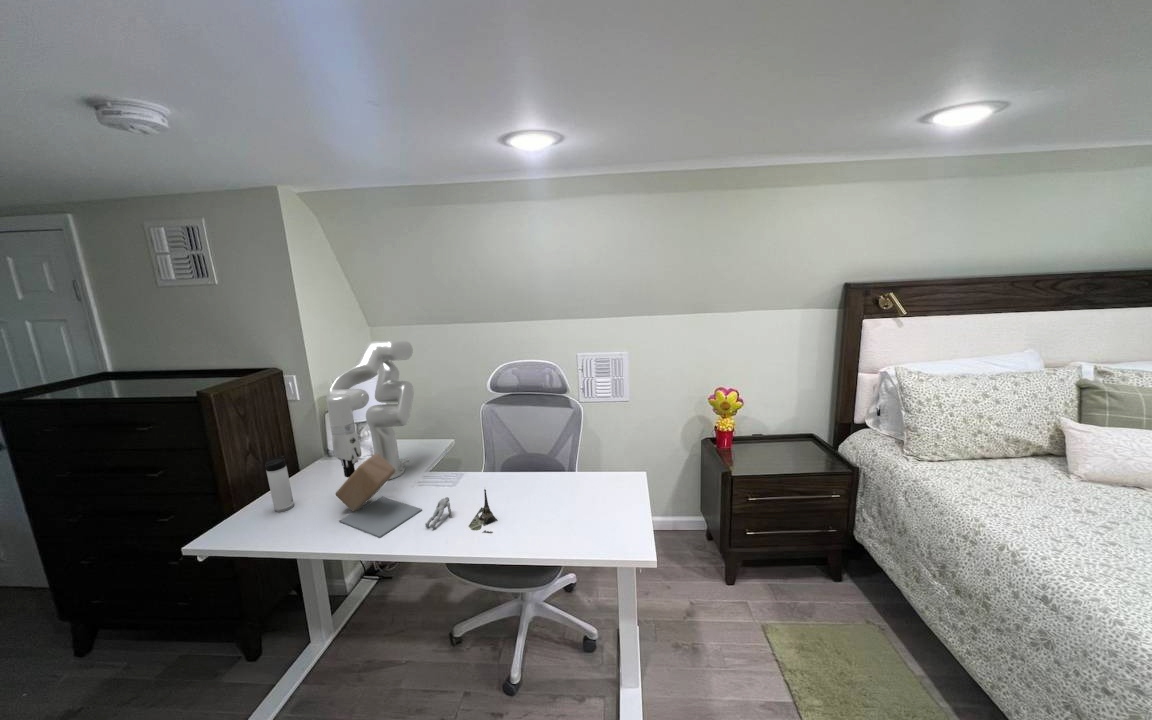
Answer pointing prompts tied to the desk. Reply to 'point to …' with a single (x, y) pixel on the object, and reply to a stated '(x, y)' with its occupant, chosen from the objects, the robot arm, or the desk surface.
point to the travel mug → (279, 484)
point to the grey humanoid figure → (439, 512)
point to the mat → (380, 516)
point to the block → (365, 482)
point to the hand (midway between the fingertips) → (350, 475)
